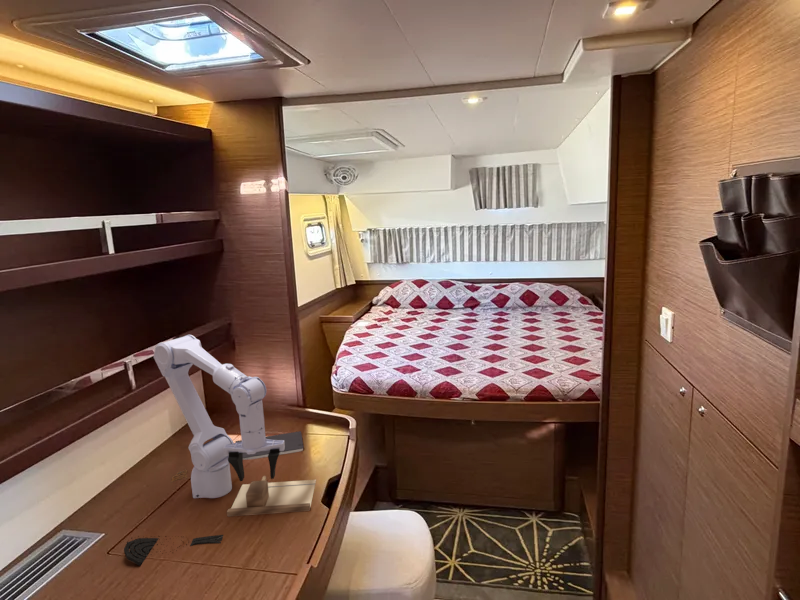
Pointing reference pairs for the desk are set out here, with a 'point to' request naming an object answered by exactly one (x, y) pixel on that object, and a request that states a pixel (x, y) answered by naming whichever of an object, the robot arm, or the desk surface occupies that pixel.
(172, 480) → the hand saw
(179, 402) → the robot arm
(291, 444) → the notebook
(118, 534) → the desk surface
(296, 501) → the plywood board
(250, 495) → the marking gauge
